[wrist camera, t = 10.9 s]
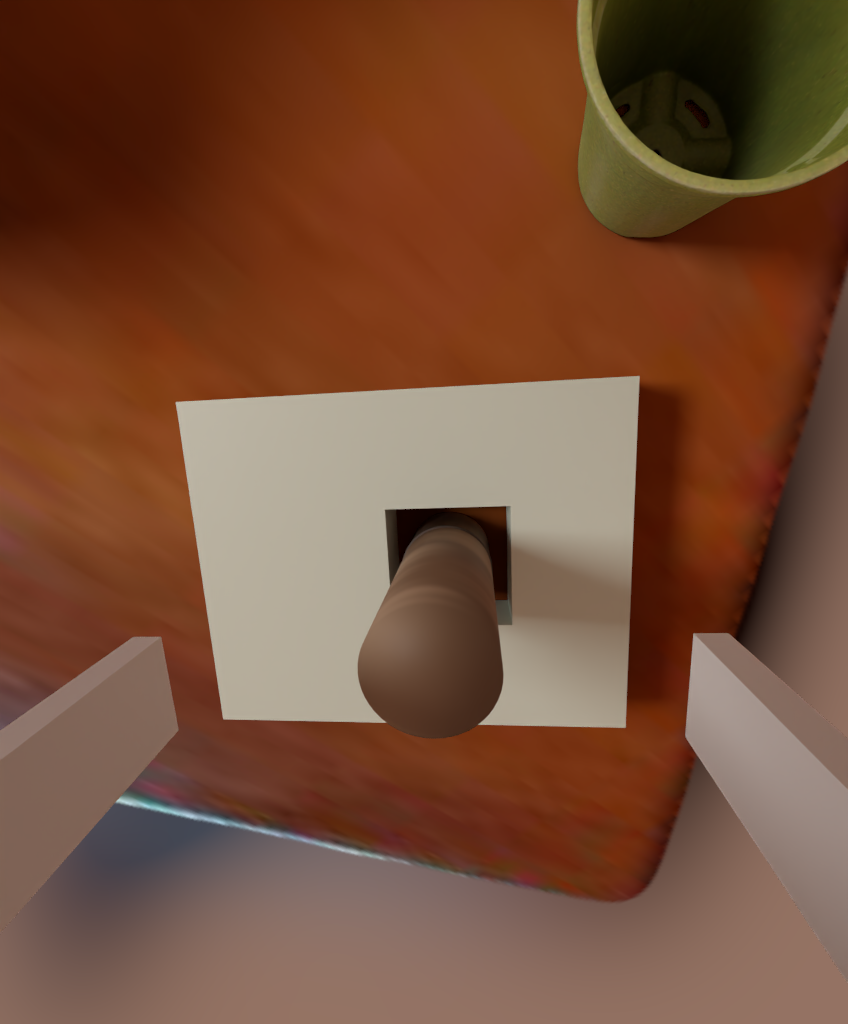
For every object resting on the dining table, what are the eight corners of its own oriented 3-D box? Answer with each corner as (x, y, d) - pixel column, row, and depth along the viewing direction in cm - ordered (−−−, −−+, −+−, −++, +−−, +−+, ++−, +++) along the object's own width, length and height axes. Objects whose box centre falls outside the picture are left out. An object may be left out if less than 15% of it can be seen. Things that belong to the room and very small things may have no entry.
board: (249, 686, 28) (223, 719, 25) (211, 403, 24) (175, 402, 21) (608, 691, 25) (625, 727, 22) (617, 380, 22) (639, 376, 19)
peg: (413, 587, 25) (361, 738, 14) (408, 512, 24) (349, 603, 13) (490, 586, 25) (506, 741, 13) (489, 509, 24) (504, 602, 12)
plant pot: (491, 175, 21) (503, 15, 13) (659, -27, 19) (809, -380, 11) (638, 325, 22) (744, 270, 13) (817, 146, 20) (1076, -55, 11)
